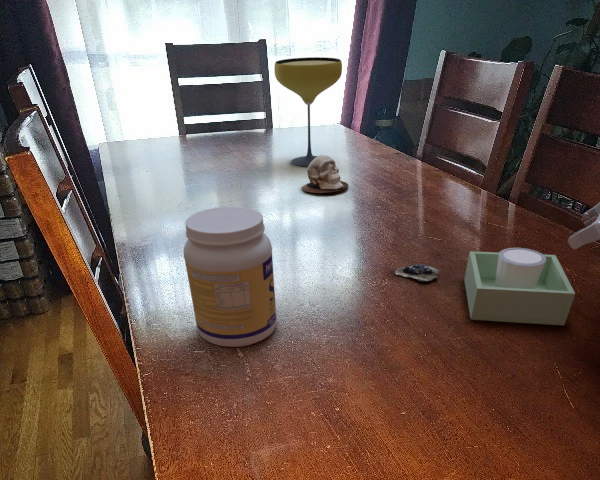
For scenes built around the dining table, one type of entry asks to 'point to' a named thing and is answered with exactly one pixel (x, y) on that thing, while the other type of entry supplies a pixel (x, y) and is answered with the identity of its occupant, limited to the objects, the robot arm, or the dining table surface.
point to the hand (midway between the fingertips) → (577, 231)
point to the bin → (517, 293)
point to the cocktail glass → (308, 85)
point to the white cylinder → (519, 268)
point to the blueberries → (418, 272)
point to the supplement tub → (230, 275)
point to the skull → (323, 176)
